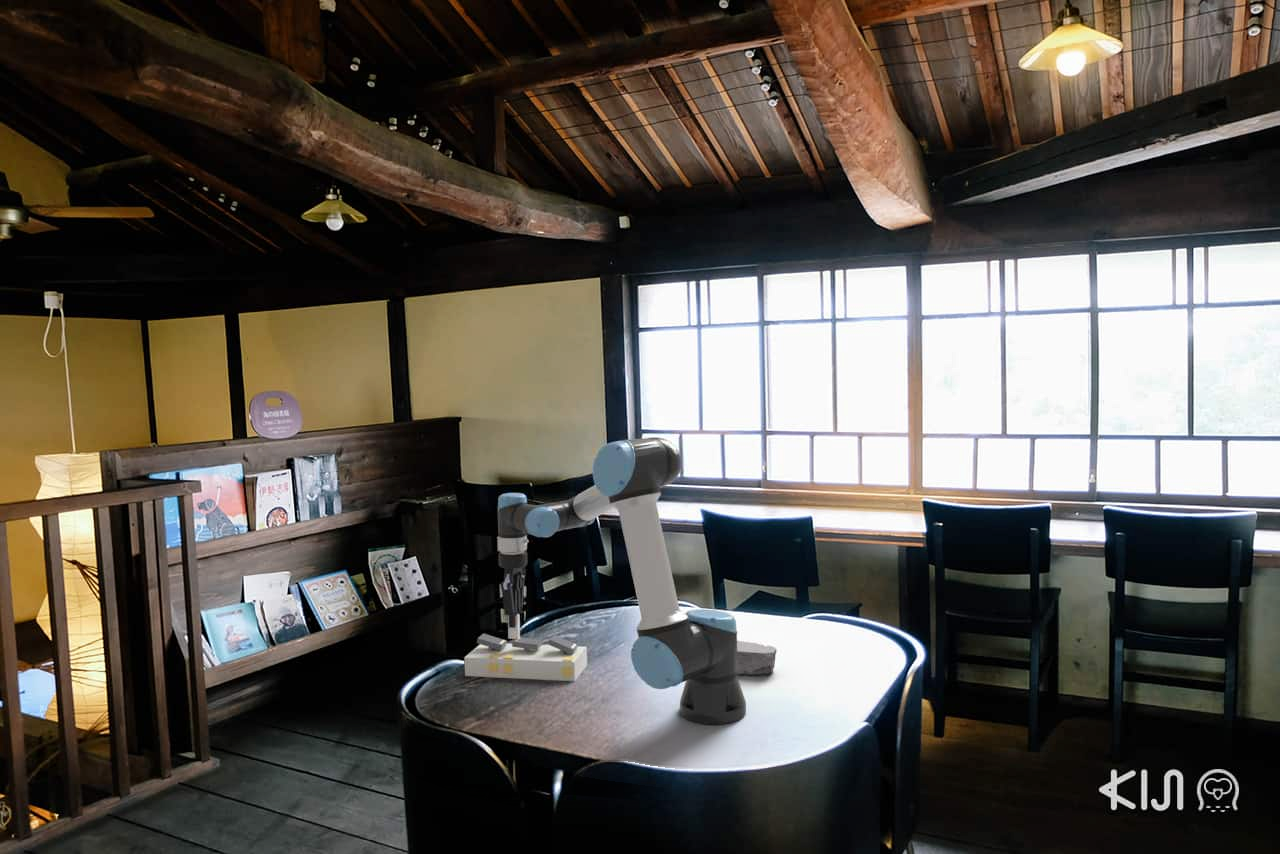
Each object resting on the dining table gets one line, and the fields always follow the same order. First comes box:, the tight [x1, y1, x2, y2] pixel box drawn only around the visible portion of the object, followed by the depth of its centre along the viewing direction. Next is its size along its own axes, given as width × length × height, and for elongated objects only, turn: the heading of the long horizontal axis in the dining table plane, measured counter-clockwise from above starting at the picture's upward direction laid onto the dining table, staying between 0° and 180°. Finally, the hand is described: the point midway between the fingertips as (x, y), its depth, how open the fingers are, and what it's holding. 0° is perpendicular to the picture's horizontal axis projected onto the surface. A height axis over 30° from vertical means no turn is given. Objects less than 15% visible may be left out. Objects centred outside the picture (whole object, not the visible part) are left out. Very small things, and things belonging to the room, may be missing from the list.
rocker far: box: [476, 633, 508, 651], centre depth 219 cm, size 4×7×2 cm, turn 78°
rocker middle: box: [511, 636, 543, 650], centre depth 217 cm, size 4×7×2 cm, turn 78°
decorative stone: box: [737, 640, 777, 677], centre depth 212 cm, size 15×7×10 cm
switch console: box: [463, 643, 588, 682], centre depth 216 cm, size 12×30×6 cm, turn 78°
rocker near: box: [547, 634, 579, 655], centre depth 215 cm, size 4×7×2 cm, turn 78°
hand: (514, 637), depth 218 cm, fingers closed
